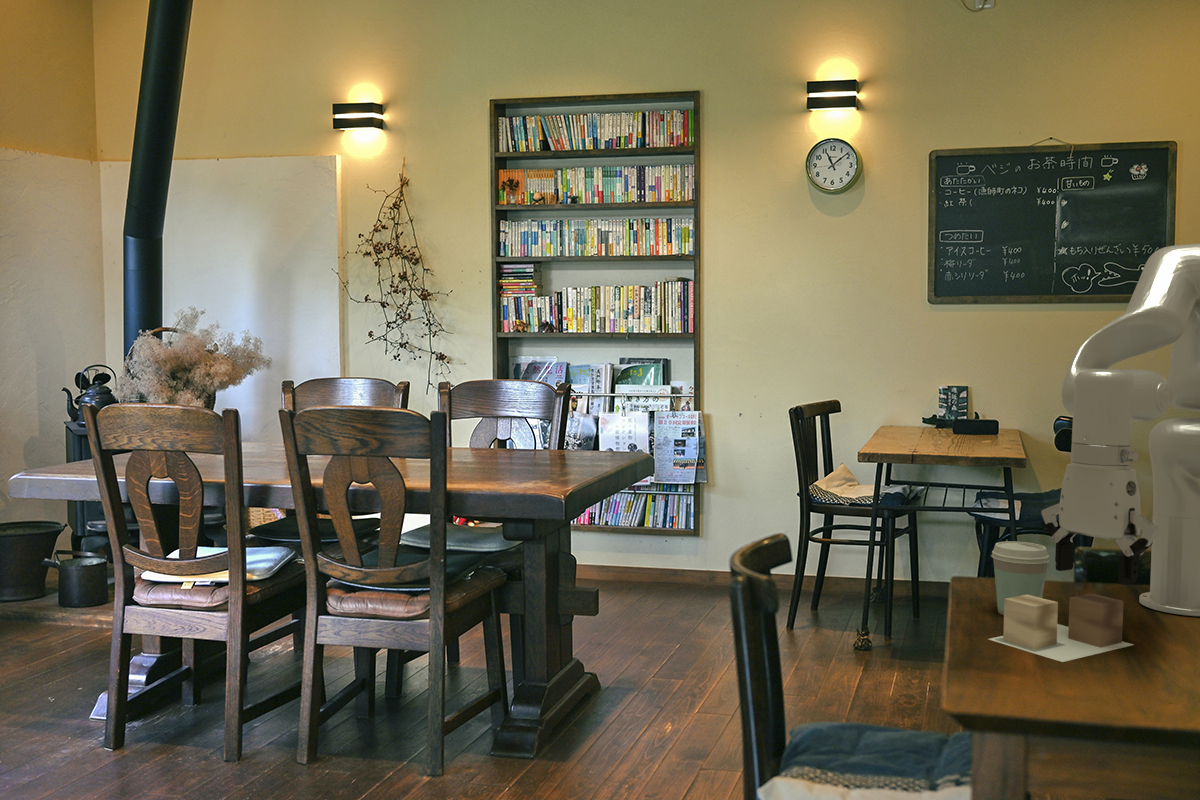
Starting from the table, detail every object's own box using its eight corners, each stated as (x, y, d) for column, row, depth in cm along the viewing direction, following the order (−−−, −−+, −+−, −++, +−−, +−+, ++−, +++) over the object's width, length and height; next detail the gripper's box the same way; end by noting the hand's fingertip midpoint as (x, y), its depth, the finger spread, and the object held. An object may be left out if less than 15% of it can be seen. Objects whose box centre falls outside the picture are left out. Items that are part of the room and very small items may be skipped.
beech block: (1026, 635, 146) (1027, 594, 146) (1056, 644, 142) (1057, 602, 142) (1003, 639, 144) (1004, 598, 144) (1033, 649, 140) (1035, 606, 139)
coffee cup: (1054, 630, 153) (1056, 552, 153) (994, 626, 155) (996, 550, 155) (1041, 615, 162) (1043, 541, 161) (985, 612, 164) (987, 539, 163)
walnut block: (1089, 633, 147) (1090, 593, 147) (1121, 642, 143) (1123, 600, 143) (1068, 638, 145) (1069, 597, 145) (1100, 647, 141) (1101, 605, 140)
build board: (1058, 631, 152) (1058, 623, 152) (1133, 653, 142) (1134, 644, 142) (987, 647, 144) (987, 638, 144) (1062, 670, 134) (1062, 661, 134)
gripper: (1176, 462, 137) (1170, 586, 137) (1062, 451, 152) (1057, 563, 152) (1143, 463, 133) (1137, 591, 134) (1030, 452, 148) (1025, 567, 149)
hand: (1094, 576), depth 143 cm, fingers open, 9 cm apart
